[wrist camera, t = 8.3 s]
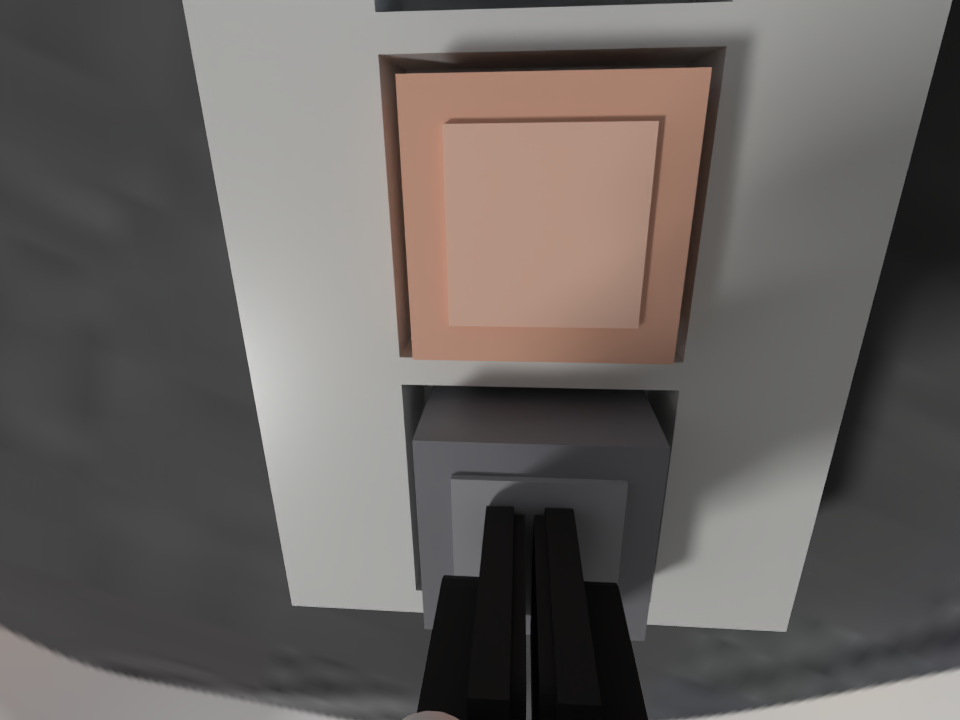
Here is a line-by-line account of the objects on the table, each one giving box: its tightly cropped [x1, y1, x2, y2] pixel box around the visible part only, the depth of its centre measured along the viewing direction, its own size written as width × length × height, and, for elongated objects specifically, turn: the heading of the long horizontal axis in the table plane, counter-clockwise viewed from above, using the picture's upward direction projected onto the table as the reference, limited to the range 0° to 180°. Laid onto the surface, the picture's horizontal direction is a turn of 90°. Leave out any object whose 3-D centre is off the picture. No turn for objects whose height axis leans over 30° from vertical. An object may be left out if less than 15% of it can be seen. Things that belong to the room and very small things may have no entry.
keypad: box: [182, 0, 952, 632], centre depth 10 cm, size 12×25×3 cm, turn 1°
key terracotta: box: [395, 67, 712, 365], centre depth 10 cm, size 5×5×3 cm
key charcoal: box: [412, 385, 671, 641], centre depth 12 cm, size 5×5×3 cm
